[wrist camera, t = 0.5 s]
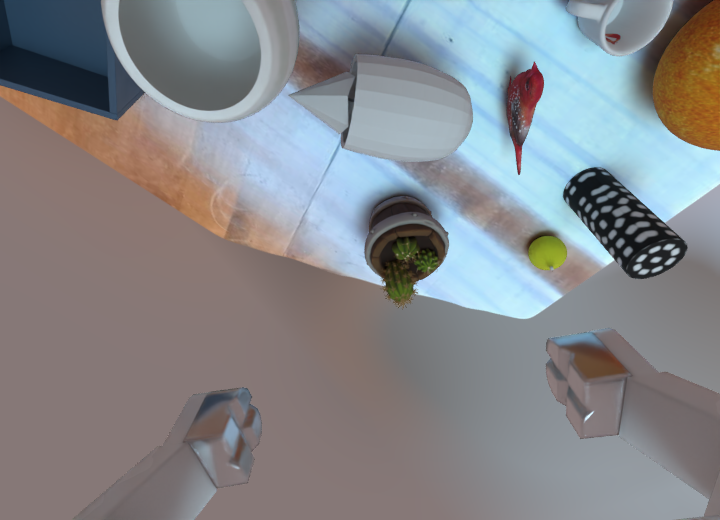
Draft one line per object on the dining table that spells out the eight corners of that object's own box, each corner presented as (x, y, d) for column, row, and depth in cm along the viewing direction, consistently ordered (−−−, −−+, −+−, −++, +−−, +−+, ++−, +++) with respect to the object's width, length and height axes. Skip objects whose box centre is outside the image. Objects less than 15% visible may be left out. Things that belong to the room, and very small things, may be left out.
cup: (539, 34, 51) (567, 50, 45) (568, -39, 45) (604, -32, 39) (609, 43, 52) (645, 60, 46) (645, -27, 47) (691, -18, 41)
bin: (-22, -114, 37) (-104, -120, 30) (147, -41, 42) (111, -31, 35) (11, 47, 47) (-45, 71, 40) (145, 91, 52) (117, 120, 45)
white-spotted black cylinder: (619, 170, 67) (701, 241, 53) (591, 207, 73) (658, 280, 58) (580, 164, 66) (653, 235, 51) (554, 202, 71) (614, 276, 57)
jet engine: (361, -33, 44) (377, -11, 31) (461, 81, 54) (504, 132, 41) (290, 68, 51) (280, 119, 39) (390, 153, 61) (408, 215, 49)
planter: (306, -79, 41) (297, -73, 25) (302, 74, 52) (294, 148, 36) (152, -107, 39) (30, -121, 22) (181, 60, 49) (114, 132, 33)
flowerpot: (397, 168, 63) (420, 244, 49) (452, 213, 71) (485, 290, 57) (343, 220, 70) (349, 300, 56) (398, 256, 78) (415, 335, 63)
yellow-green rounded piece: (524, 233, 76) (545, 267, 69) (559, 225, 75) (584, 258, 68) (521, 257, 81) (541, 290, 74) (554, 249, 80) (577, 283, 73)
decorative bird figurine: (521, 42, 51) (554, 63, 44) (513, 155, 63) (538, 186, 56) (500, 48, 51) (529, 70, 44) (496, 159, 64) (519, 190, 56)
